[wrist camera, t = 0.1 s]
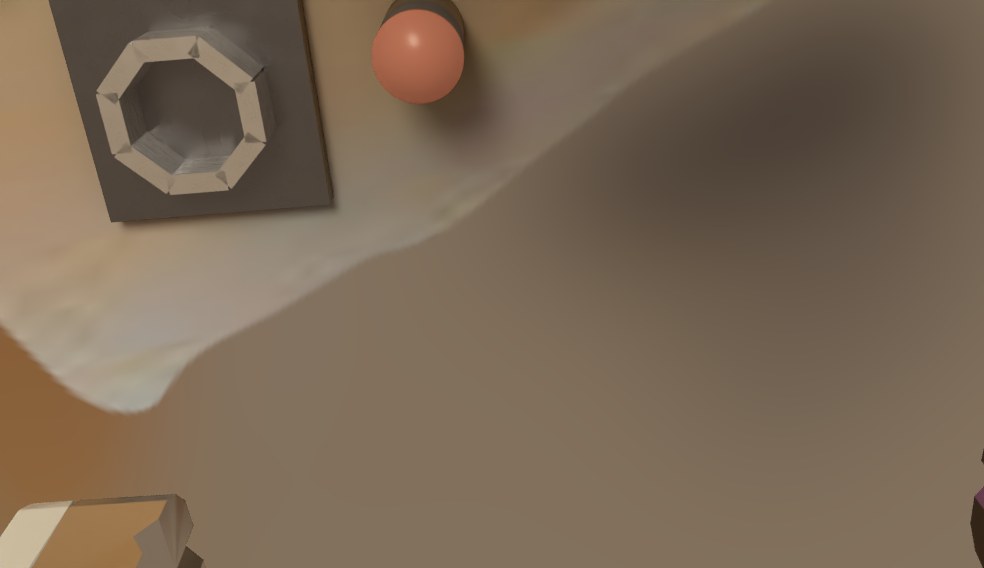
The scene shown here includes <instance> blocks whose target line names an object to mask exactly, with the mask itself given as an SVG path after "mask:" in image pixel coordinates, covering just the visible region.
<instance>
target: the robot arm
mask: <svg viewBox="0 0 984 568" xmlns="http://www.w3.org/2000/svg"><path fill="white" fill-rule="evenodd" d="M981 461H982V463H983V464H984V449H983V454H982V459H981ZM970 524H971V530H972V536H973V542H974V548H975V552H976V554H977V556H978V558H979V561H980V563H981V565H982V567H983V568H984V487H983V488H982V489H981V490H980V491H979V492H978V493H977V494H976V495H975V496H974V502H973V508H972V515H971V522H970ZM193 526H194V525H193V522H192V519H191V516H190V513H189V510H188V507H187V504H186V501H185V500H184V499H182V498H181V497H179V496H178V495H176V494H169V495H155V496H154V495H153V496H137V497H120V498H103V499H87V500H80V501H62V502H49V503H36V504H31V505H28V506H26V507H25V508H22V509H20V510H19V511H18V512H17V513H16V515H15V516H14V518H13V519H12V521H11V522H10V524H9V525H8V526H7V528H6V529H5V531H4V532H3V534H2V535H1V537H0V568H206V566H205V563H204V560H203V559H202V558H201V557H199V556H198V555H197V554H196V553H194V552H193V551H192V550H191V549H189V548H188V547H187V546H186V544H187V542H188V539H189V537H190V534H191V532H192V529H193Z"/></svg>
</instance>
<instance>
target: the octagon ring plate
mask: <svg viewBox="0 0 984 568" xmlns="http://www.w3.org/2000/svg"><path fill="white" fill-rule="evenodd" d="M49 3H50V7H51V10H52V14H53V17H54V21H55V25H56V28H57V32H58V35H59V39H60V42H61V46H62V50H63V53H64V57H65V60H66V64H67V67H68V71H69V74H70V78H71V82H72V85H73V89H74V92H75V96H76V99H77V103H78V106H79V110H80V114H81V117H82V121H83V124H84V128H85V131H86V135H87V138H88V142H89V146H90V149H91V153H92V156H93V160H94V163H95V167H96V170H97V174H98V178H99V181H100V185H101V188H102V192H103V195H104V199H105V203H106V206H107V210H108V213H109V217H110V220H111V222H122V221H134V220H146V219H159V218H171V217H184V216H196V215H208V214H221V213H233V212H246V211H258V210H271V209H283V208H295V207H308V206H320V205H330V204H331V201H332V199H333V191H332V185H331V179H330V172H329V166H328V160H327V154H326V148H325V142H324V135H323V129H322V123H321V117H320V111H319V105H318V98H317V92H316V86H315V80H314V74H313V68H312V61H311V55H310V49H309V43H308V37H307V31H306V24H305V18H304V12H303V6H302V0H49Z"/></svg>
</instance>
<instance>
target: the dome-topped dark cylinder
mask: <svg viewBox="0 0 984 568" xmlns="http://www.w3.org/2000/svg"><path fill="white" fill-rule="evenodd" d="M372 65H373V69H374V72H375V75H376V77H377V79H378V80H379V82H380V83H381V85H382V86H383V87H384V88H385V89H386V90H387V91H388V92H389V93H390V94H391V95H393V96H394V97H396V98H398V99H400V100H402V101H405V102H409V103H415V104H424V103H430V102H433V101H436V100H438V99H440V98H442V97H444V96H445V95H446V94H448V93H449V92H450V91H451V90H452V89H453V88H454V87H455V85H456V84H457V82H458V80H459V79H460V76H461V74H462V70H463V66H464V24H463V20H462V16H461V14H460V12H459V10H458V8H457V7H456V5H455V4H454V3H453V2H452V1H451V0H395V1H394V2H393V4H392V5H391V7H390V8H389V10H388V12H387V14H386V16H385V18H384V20H383V22H382V25H381V27H380V29H379V31H378V33H377V35H376V37H375V40H374V43H373V47H372Z"/></svg>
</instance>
